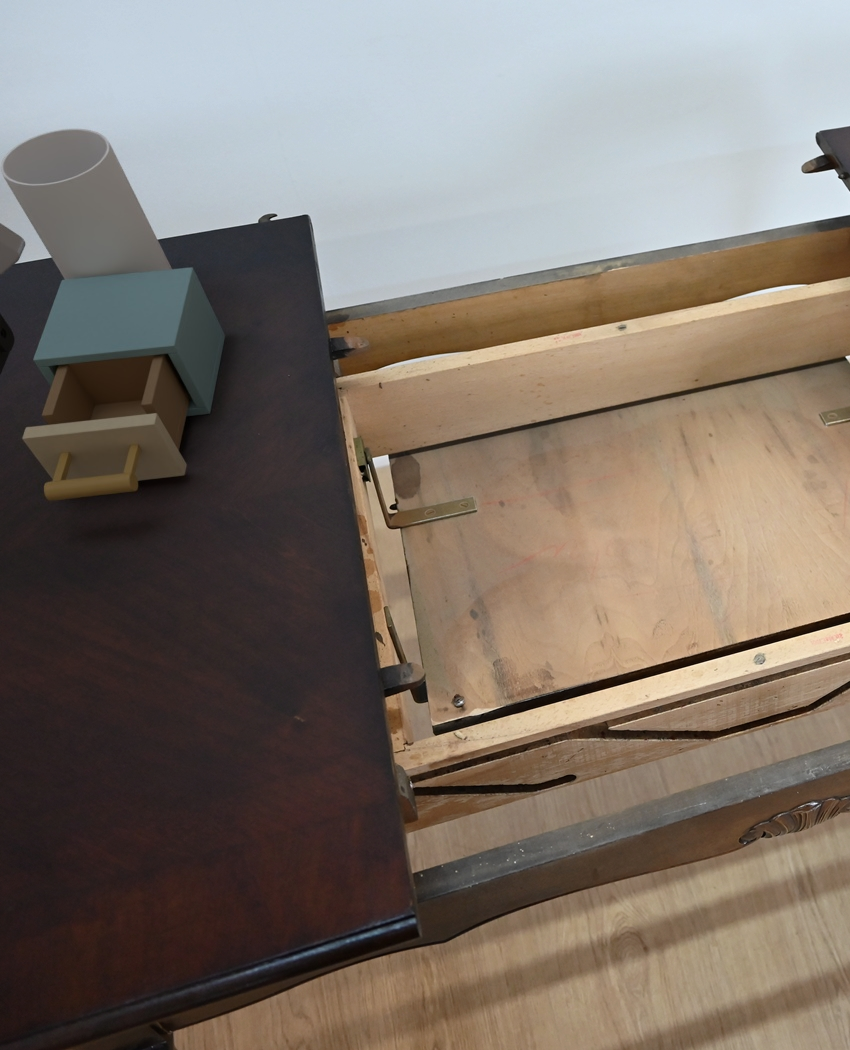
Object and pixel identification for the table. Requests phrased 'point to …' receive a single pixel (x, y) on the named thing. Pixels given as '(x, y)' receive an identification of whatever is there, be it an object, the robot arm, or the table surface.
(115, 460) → the drawer
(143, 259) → the cup
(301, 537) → the table surface
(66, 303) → the cabinet
